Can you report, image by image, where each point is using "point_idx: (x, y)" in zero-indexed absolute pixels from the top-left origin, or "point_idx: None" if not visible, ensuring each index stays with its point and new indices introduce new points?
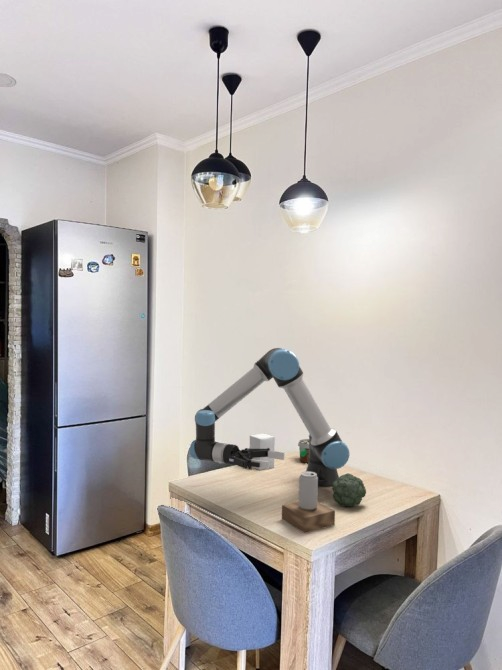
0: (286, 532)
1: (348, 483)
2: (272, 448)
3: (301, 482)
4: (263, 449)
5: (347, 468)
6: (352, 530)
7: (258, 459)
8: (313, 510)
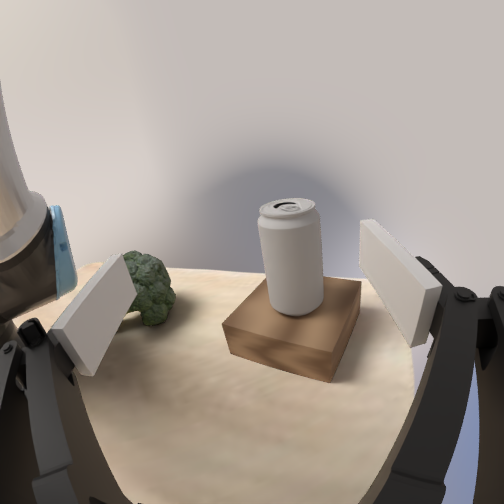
0: (389, 333)
1: (156, 259)
2: None
3: (319, 230)
4: (7, 377)
5: None
6: None
7: None
8: None
